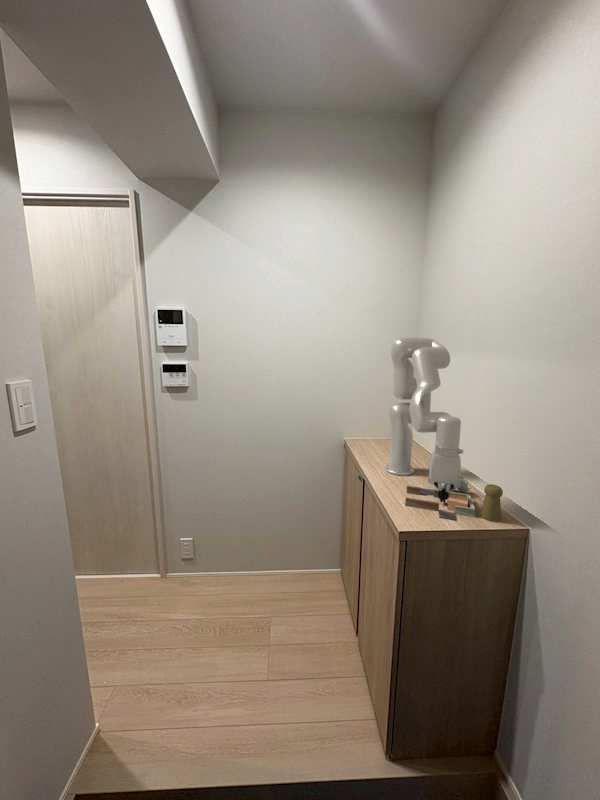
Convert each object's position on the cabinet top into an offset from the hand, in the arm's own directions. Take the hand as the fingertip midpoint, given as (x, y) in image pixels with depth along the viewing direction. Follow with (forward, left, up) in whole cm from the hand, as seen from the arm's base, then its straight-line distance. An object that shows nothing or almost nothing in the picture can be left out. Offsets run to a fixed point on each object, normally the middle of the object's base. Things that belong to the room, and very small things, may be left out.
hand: (442, 500), depth 116 cm
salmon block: (+1, +5, -2) cm, 5 cm away
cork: (+4, +14, -2) cm, 15 cm away
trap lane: (0, -2, -1) cm, 2 cm away
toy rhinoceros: (-12, +5, -2) cm, 13 cm away
